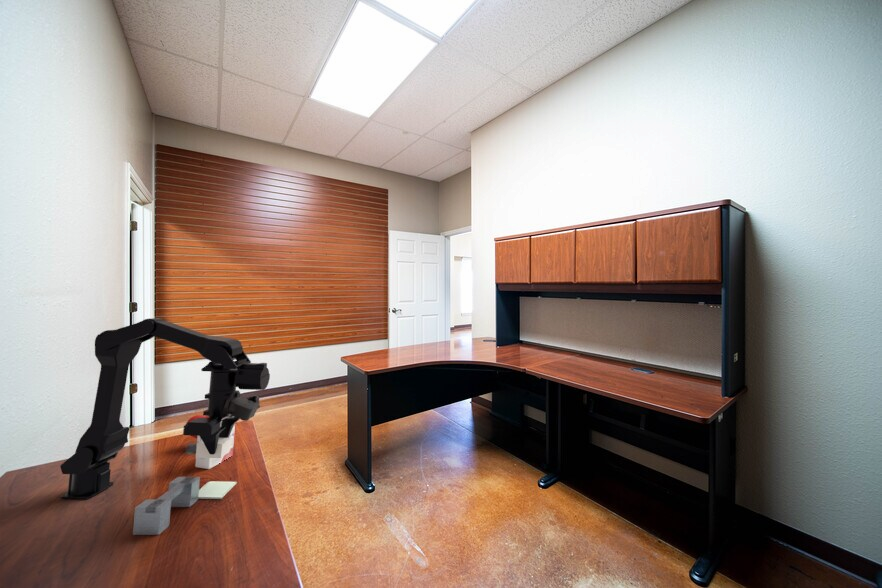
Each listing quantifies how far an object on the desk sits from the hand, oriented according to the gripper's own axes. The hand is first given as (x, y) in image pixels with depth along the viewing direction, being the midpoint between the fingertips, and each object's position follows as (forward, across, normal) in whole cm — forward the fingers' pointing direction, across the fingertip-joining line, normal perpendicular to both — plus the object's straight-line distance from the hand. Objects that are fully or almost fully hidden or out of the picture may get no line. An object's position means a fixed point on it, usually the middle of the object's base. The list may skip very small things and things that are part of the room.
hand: (217, 450), depth 83 cm
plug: (+1, 0, +3) cm, 3 cm away
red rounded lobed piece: (+10, +25, +19) cm, 33 cm away
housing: (+10, -10, +3) cm, 15 cm away
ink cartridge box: (+10, +15, +9) cm, 20 cm away
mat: (+10, 0, 0) cm, 10 cm away
